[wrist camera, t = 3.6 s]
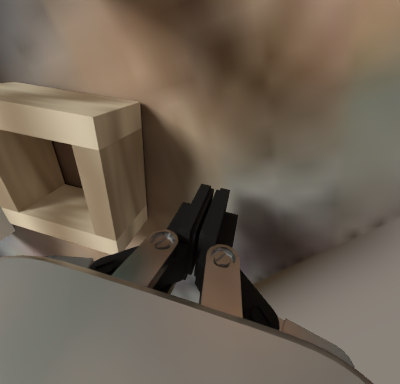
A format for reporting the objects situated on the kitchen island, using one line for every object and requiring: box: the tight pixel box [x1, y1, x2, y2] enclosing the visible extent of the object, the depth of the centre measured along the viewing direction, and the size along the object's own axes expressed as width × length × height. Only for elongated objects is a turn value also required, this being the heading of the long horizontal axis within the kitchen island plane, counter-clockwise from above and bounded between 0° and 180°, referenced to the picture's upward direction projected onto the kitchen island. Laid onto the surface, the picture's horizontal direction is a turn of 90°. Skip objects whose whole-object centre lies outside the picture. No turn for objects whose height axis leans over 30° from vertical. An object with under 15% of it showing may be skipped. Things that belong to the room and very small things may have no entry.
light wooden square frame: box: [0, 82, 147, 254], centre depth 14 cm, size 9×9×4 cm
